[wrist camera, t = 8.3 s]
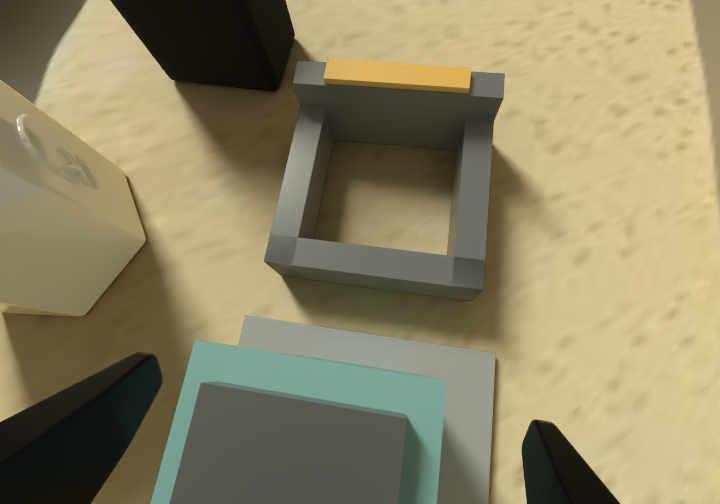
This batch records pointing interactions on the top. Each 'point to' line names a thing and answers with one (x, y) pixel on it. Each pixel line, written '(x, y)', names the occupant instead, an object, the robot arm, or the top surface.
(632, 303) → the top surface
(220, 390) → the plug
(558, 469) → the robot arm
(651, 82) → the top surface
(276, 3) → the battery
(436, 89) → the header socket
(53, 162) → the jar
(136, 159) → the top surface
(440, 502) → the mat
